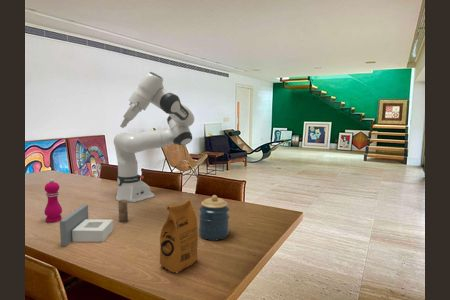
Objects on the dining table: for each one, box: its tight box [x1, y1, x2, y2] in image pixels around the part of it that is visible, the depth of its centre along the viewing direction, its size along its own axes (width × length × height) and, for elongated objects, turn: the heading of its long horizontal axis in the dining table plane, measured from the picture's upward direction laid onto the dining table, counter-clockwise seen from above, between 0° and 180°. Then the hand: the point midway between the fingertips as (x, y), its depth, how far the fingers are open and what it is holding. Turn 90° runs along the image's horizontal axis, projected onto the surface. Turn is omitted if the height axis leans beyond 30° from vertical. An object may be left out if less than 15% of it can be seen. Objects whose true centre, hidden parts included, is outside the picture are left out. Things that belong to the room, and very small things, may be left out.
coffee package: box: [159, 198, 199, 273], centre depth 100 cm, size 10×12×22 cm
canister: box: [198, 194, 230, 241], centre depth 125 cm, size 13×13×18 cm
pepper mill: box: [44, 178, 63, 223], centre depth 137 cm, size 7×7×20 cm
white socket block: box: [72, 218, 114, 243], centre depth 122 cm, size 12×12×5 cm
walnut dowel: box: [117, 200, 129, 224], centre depth 139 cm, size 4×4×10 cm
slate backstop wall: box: [59, 204, 89, 247], centre depth 122 cm, size 2×20×10 cm, turn 2°
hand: (122, 126), depth 138 cm, fingers open, 8 cm apart
